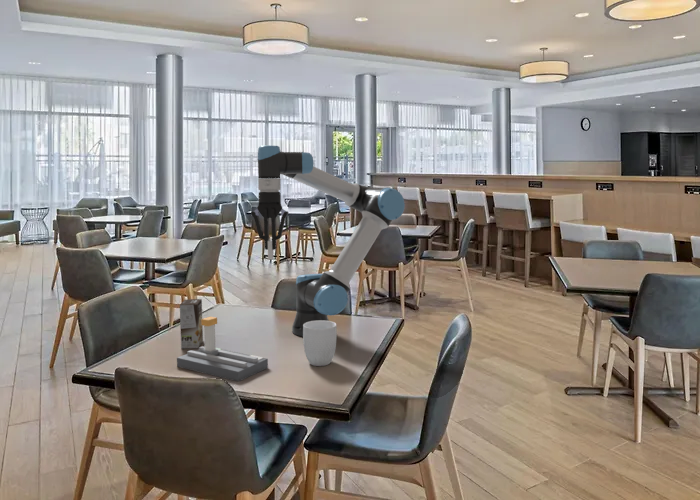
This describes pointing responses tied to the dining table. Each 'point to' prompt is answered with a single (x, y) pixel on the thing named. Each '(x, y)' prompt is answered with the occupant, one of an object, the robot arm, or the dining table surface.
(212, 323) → the lever
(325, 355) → the mug
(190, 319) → the coffee box
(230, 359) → the switch panel
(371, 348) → the dining table surface
